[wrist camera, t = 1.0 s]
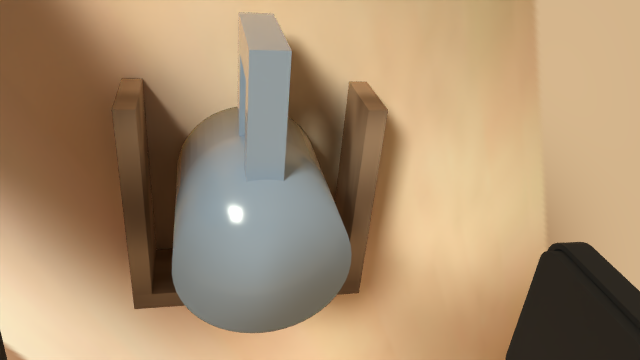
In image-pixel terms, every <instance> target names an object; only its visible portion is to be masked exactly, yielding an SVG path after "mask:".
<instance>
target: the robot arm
mask: <svg viewBox="0 0 640 360" xmlns="http://www.w3.org/2000/svg"><path fill="white" fill-rule="evenodd" d="M0 360H7V357H6V353H5V349H4V344H3V340H2V336H1V332H0ZM506 360H640V291H639V290H638V289H637V288H635V287H634V286H633V285H632V284H631V283H630V282H629V281H628V280H627V279H626V278H625V277H624V276H623V275H622V274H621V273H620V272H618V271H617V270H616V269H615V268H614V267H613V266H612V265H611V264H610V263H609V262H607V260H605V258H604V257H603V256H601V255H600V254H599V253H598V252H597V251H596V250H595V249H594V248H593V247H592V246H590V245H589V244H587V243H584V242H573V243H572V242H571V243H555V244H552V245H551V246H550V247H549V249H548V251H546V252H544V253H543V254H542V255H541V257H540V260H539V262H538V265H537V268H536V271H535V274H534V277H533V280H532V283H531V285H530V288H529V291H528V294H527V297H526V300H525V303H524V305H523V308H522V311H521V314H520V317H519V320H518V323H517V326H516V328H515V331H514V334H513V337H512V340H511V343H510V346H509V349H508V351H507V354H506Z"/></svg>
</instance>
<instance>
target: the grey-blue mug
mask: <svg viewBox="0 0 640 360" xmlns="http://www.w3.org/2000/svg"><path fill="white" fill-rule="evenodd" d="M291 56H292V50H291V48H290V46H289V44H288V42H287V40H286V38H285V36H284V34H283V32H282V30H281V28H280V26H279V24H278V22H277V20H276V18H275V16H274V14H263V13H239V40H238V107H234V108H229V109H226V110H223V111H220V112H218V113H216V114H213V115H211V116H210V117H208V118H207V119H205V120H204V121H202V122H201V123H200V124H199V125H197V126H196V127H195V128H194V129H193V131H192V132H191V133H190V134H189V136H188V137H187V138H186V140H185V142H184V144H183V146H182V148H181V151H180V154H179V158H178V165H177V184H176V202H175V220H174V239H173V257H172V278H173V283H174V286H175V289H176V292H177V294H178V296H179V298H180V299H181V301H182V302H183V303H184V305H185V306H186V307H187V308H188V309H189V310H190V311H191V312H192V313H193V314H194V315H196V316H197V317H198V318H200V319H201V320H203V321H205V322H207V323H209V324H211V325H213V326H216V327H218V328H221V329H225V330H229V331H234V332H241V333H263V332H271V331H276V330H280V329H284V328H287V327H290V326H293V325H296V324H298V323H300V322H303V321H305V320H306V319H308V318H310V317H312V316H313V315H315V314H316V313H318V312H319V311H321V310H322V309H323V308H324V307H325V306H327V305H328V304H329V303H330V302H331V301H332V300H333V298H334V297H335V296H336V295H337V294H338V292H339V291H340V289H341V288H342V286H343V284H344V283H345V281H346V278H347V276H348V273H349V269H350V265H351V255H352V254H351V245H350V241H349V237H348V234H347V232H346V229H345V227H344V224H343V222H342V219H341V217H340V215H339V212H338V210H337V207H336V205H335V202H334V200H333V197H332V195H331V192H330V190H329V187H328V185H327V182H326V180H325V177H324V175H323V172H322V170H321V167H320V165H319V162H318V160H317V157H316V155H315V152H314V150H313V147H312V145H311V143H310V140H309V138H308V137H307V135H306V134H305V132H304V131H303V130H302V129H301V127H300V126H299V125H298V124H297V123H295V122H294V121H293V120H292V119H290V118H289V117H288V105H289V89H290V72H291Z"/></svg>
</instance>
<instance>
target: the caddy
mask: <svg viewBox="0 0 640 360" xmlns="http://www.w3.org/2000/svg"><path fill="white" fill-rule="evenodd" d="M387 114H388V110H387V108H386V107H385V106H384V104H383V103H382V102H381V100H380V99H379V98H378V96H377V95H376V94H375V92H374V91H373V90H372V88H371V87H370V86H369V84H368V83H367V82H349V89H348V97H347V106H346V114H345V122H344V131H343V139H342V148H341V156H340V164H339V173H338V181H337V190H336V198H335V205H336V207H337V210H338V212H339V215H340V217H341V219H342V222H343V224H344V227H345V229H346V232H347V234H348V237H349V241H350V245H351V254H352V255H351V265H350V269H349V273H348V276H347V278H346V281H345V283H344V284H343V286H342V288H341V289H340V291H339V292H338V294H351V293H359V288H360V282H361V275H362V269H363V263H364V257H365V251H366V244H367V238H368V232H369V226H370V219H371V213H372V207H373V201H374V195H375V188H376V182H377V176H378V170H379V163H380V157H381V151H382V145H383V139H384V132H385V126H386V120H387ZM112 116H113V125H114V133H115V142H116V151H117V160H118V168H119V177H120V186H121V195H122V204H123V212H124V221H125V230H126V239H127V247H128V256H129V265H130V274H131V283H132V291H133V300H134V309H142V308H156V307H170V306H184V303H183V302H182V301H181V299H180V298H179V296H178V294H177V292H176V289H175V286H174V283H173V278H172V257H173V249H161V250H156V241H155V228H154V216H153V204H152V191H151V179H150V167H149V154H148V142H147V130H146V117H145V105H144V93H143V80H142V79H123V78H122V79H121V83H120V86H119V89H118V92H117V95H116V98H115V101H114V104H113V108H112Z"/></svg>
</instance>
